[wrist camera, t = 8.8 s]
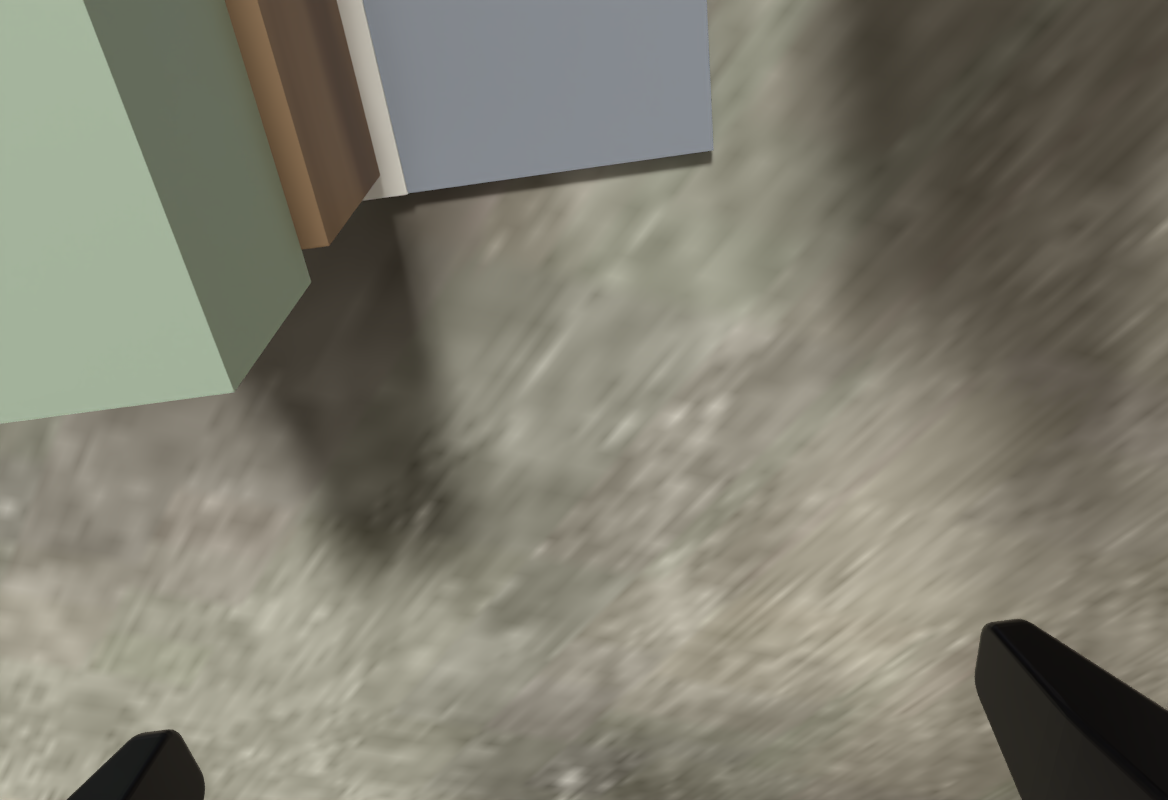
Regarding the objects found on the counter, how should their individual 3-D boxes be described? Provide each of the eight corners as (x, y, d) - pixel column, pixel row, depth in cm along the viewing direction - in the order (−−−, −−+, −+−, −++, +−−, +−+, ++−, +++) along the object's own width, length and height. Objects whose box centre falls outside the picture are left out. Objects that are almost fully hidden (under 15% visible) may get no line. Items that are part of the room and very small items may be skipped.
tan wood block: (315, -84, 15) (227, -101, 11) (380, 175, 18) (329, 245, 13) (62, -47, 15) (-125, -48, 11) (160, 206, 18) (39, 286, 14)
